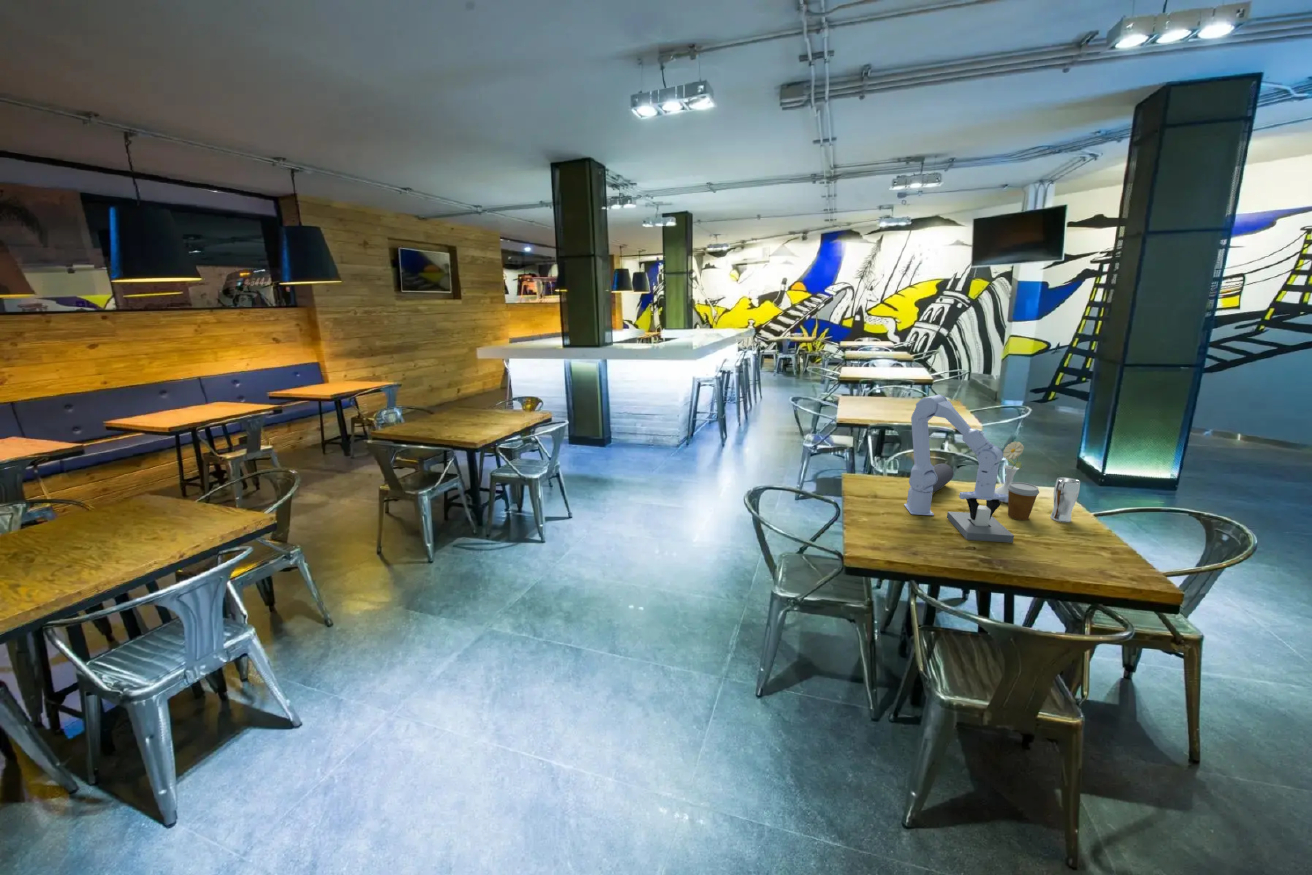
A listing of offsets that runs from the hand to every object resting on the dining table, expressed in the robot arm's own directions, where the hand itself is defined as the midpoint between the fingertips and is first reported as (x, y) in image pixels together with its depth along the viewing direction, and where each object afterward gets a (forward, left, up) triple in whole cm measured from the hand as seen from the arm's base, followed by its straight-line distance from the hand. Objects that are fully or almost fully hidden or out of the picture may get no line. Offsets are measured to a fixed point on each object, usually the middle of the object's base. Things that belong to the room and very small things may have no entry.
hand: (979, 519), depth 178 cm
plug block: (0, 0, -2) cm, 2 cm away
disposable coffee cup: (-14, +19, -4) cm, 24 cm away
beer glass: (-14, +33, -4) cm, 36 cm away
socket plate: (0, 0, -4) cm, 4 cm away
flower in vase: (-30, +22, -4) cm, 37 cm away
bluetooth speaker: (-38, -3, -4) cm, 38 cm away
